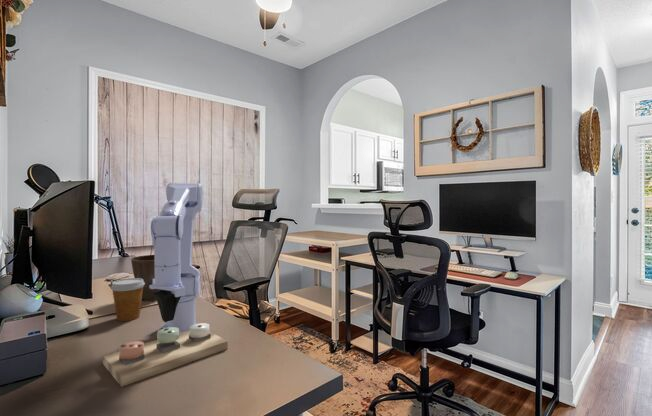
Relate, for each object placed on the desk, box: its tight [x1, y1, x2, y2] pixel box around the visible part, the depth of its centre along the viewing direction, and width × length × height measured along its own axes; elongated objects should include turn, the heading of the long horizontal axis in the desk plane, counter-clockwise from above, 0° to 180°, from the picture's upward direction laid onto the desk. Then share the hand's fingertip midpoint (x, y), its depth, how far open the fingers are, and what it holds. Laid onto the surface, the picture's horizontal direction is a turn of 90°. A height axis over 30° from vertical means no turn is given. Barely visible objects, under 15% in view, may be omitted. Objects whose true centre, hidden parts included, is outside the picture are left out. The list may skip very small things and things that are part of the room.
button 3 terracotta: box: [118, 340, 145, 360], centre depth 75 cm, size 5×5×2 cm
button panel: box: [102, 330, 229, 388], centre depth 81 cm, size 14×24×3 cm, turn 137°
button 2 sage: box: [156, 327, 179, 343], centre depth 81 cm, size 5×5×2 cm
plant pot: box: [130, 254, 160, 301], centre depth 130 cm, size 15×15×16 cm
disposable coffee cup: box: [110, 277, 145, 322], centre depth 107 cm, size 10×10×12 cm
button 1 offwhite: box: [190, 322, 210, 338], centre depth 87 cm, size 5×5×2 cm
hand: (168, 320), depth 81 cm, fingers closed
